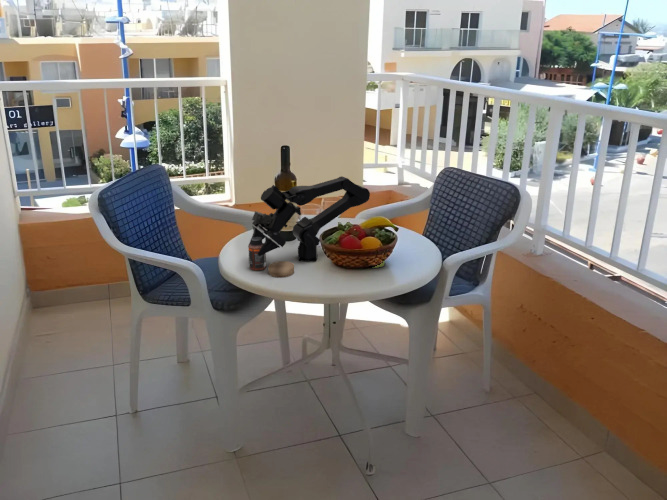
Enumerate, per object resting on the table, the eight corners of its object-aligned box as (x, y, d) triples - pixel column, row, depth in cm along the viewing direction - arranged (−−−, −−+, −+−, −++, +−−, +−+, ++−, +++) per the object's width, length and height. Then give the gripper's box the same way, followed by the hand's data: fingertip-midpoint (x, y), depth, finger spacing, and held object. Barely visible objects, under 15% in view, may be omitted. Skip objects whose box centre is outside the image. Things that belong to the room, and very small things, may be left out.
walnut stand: (295, 267, 207) (295, 261, 206) (292, 277, 199) (292, 271, 198) (271, 267, 208) (270, 260, 207) (266, 277, 200) (266, 270, 199)
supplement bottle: (269, 268, 207) (268, 238, 203) (256, 272, 203) (254, 242, 199) (259, 263, 211) (258, 234, 207) (246, 268, 207) (244, 238, 203)
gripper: (256, 197, 209) (228, 231, 208) (276, 210, 193) (246, 246, 192) (277, 215, 215) (250, 248, 214) (298, 229, 199) (269, 264, 198)
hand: (253, 251), depth 204 cm, fingers open, 9 cm apart
